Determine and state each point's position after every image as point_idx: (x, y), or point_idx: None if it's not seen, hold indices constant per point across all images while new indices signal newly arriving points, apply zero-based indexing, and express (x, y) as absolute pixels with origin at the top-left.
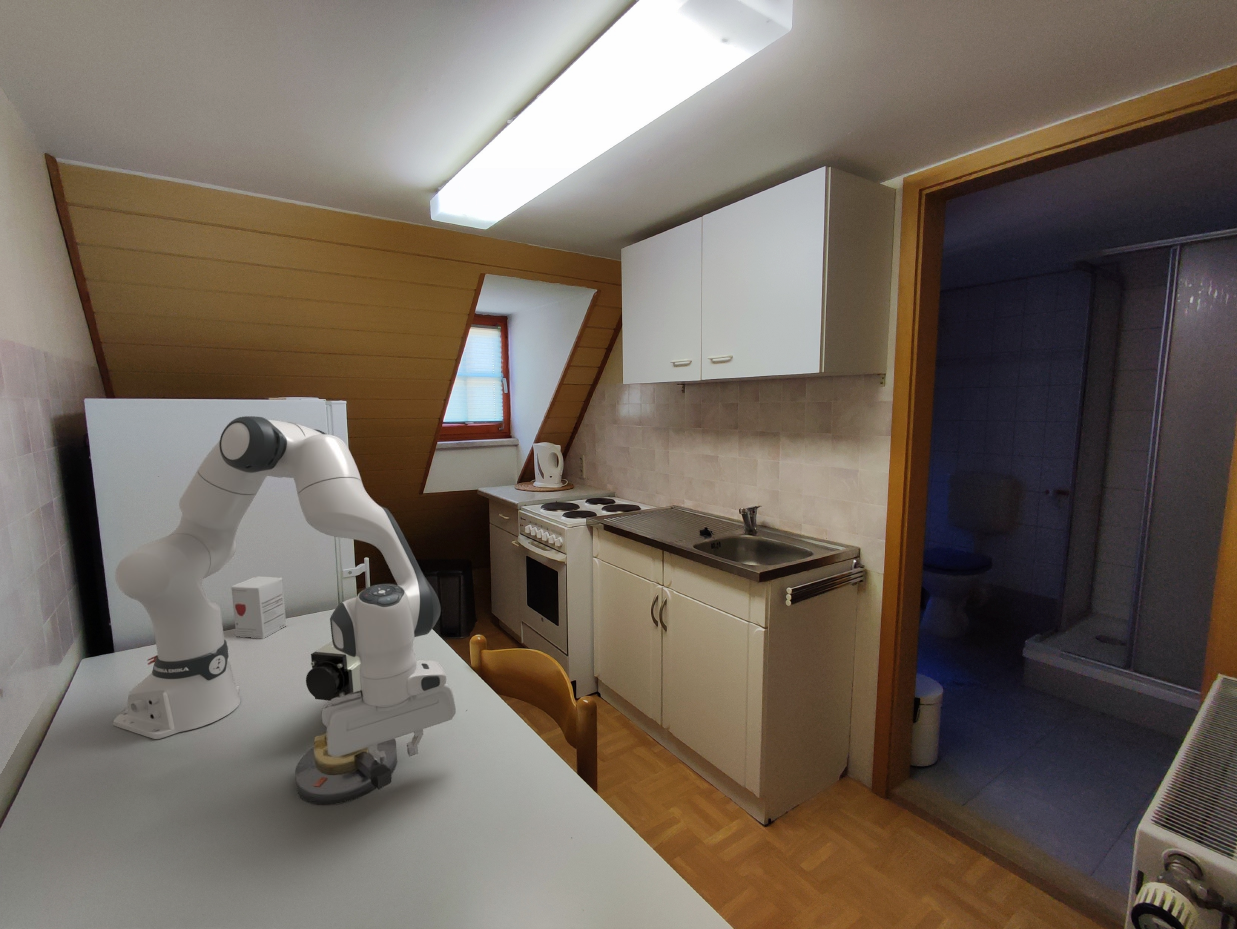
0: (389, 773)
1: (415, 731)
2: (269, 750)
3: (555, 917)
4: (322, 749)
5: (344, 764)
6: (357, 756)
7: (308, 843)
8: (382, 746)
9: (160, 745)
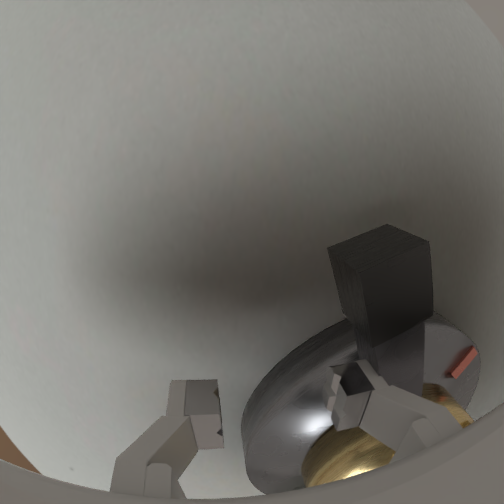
0: (359, 261)
1: (161, 498)
2: None
3: None
4: None
5: (432, 400)
6: None
7: (484, 193)
8: (289, 459)
9: None
